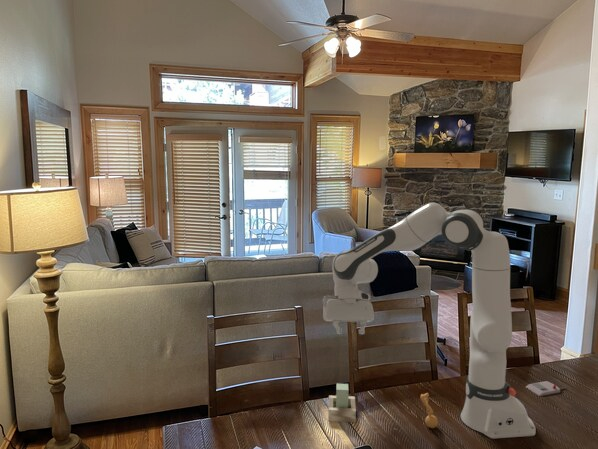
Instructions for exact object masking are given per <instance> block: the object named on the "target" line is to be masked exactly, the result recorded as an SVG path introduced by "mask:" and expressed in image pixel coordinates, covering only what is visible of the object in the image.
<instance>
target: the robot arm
mask: <svg viewBox="0 0 598 449" xmlns="http://www.w3.org/2000/svg"><path fill="white" fill-rule="evenodd" d="M485 225H486V224H485V220H484V217H483V215H482V214H481V213H480V212H479V211H478V210H475V209H472V208H461V209H452V210H449V211H447V209H445V207H444V206H442V205H441V204H439V203H437V202H429V203H426V204H424V205H422V206H421V207H418V208H417V209H415V210H414V211H413V212H411V213H409V214H408V215H407V216H406V217H404V218H403V219H401V220H400V221H398V222H397V223H395V224H393V225H391V226H389V227H387V228H384V229H383V230H380V231H379V232H377V233H375V234H374V235H372V236H370V237H369V238H367V239H365V240H364V241H363V242H361V243H359V244H357V245H356V246H355V247H353V248H350V249H345V250H343V251H341V252H339V253H338V254H337V255H336V256H334V257H333V259H332V264H331V265H332V266H331V267H332V279H333V282H334V286H333V287H334V288H333V291H334V295H329V294H328V295H327V294H326V295H325V296H323V298H322V305H323V309H322V310H323V311H322V312H323V313H322V318H323V320H324V321H325V322H332V325H333V327H334V328H335V330H336V334H337V335H341V334H343V328H342V327H340V325H339V324H340V322H343V323H345V322H346V323H359V324H360V328H359V329H358V334H359V335H365V334H366V330H365V328H366V326H367V323H371V322H373V321H374V319H375V311H374V308H373V304H372V302H371V297H372V296H371V295H370V294H369V293H367V292H364V291H362V290H361V289H359V286H358V285H359V284H370V283H372V282H374V281H375V280H376V278H377V277H378V273H379V266H378V263H377V262H376V261H375V259H373V258H374V257H376V256H378V255H379V254H382V253H385V252H395V251H396V252H397V251H398V252H413V251H415V250H417V249H419V248H421V247H422V246H424V245H425V244H427V243H429V242H430V241H431V240H432V239H434V238H436V237H437V236H440V235H441V236H442V238H443V239H444V241H445V242H446V243H447V244H448V245H451V246H453V247H456V248H459V249H463V250H466V251H468V252H469V251H471V257H472V258H471V262H472V263H471V265H472V266H471V292H472V294H471V295H472V296H471V297H472V298H471V299H472V309H471V313H470V321H469V323H470V324H469V360H468V361H469V362H468V375H467V377H466V383H465V394H466V395H465V400H464V405H463V408H462V411H461V413H460V419H461V421H462V422H463V423H464V424H465V425H466V426H467V427H469V428H470V429H472V430H474V431H477V432H479V433H481V434H484V435H485V436H487V437H488V438H490V439H506V438H518V437H521V438H522V437H534V436H535V435H536V433H537V432H536V429H537V428H536V426H535V424H534V422H533V420H532V419H531V418H530V416H528V412H527V409H526V408H525V405H524V404H523V403H522V402H521V400H520V399H518V398H516V396H517V391H516V390H515V389H514V388H513V387H511V385H510V384H509V383H508V382H507V381H506V373H507V349H508V348H509V347H510V346H511V344H512V340H513V323H512V322H513V320H512V318H513V317H512V303H511V302H512V301H511V257H510V248H509V247H510V246H509V241H508V239H507V237H506V236H505V235H504V234H502V233H500V232H498V231H489V230H487V229H486V228H485Z"/></svg>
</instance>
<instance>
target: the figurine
mask: <svg viewBox="0 0 598 449" xmlns="http://www.w3.org/2000/svg"><path fill="white" fill-rule="evenodd" d="M429 396H430V394H429V392H426V393H421V394H420V397H419V398H420V401H421V402H422V403H423V405H424V406H425V407H426V413H427V416H426V417H425V419H424V420H425V421H424V422H425V425H426V426H427V427H428V428H429V429H435V428H437V427H438V425H439V420H438V418H437V416H435V415H434V412H433V408H432V407H431V405H430V404H429V400H430V399H429Z"/></svg>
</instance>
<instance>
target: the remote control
mask: <svg viewBox="0 0 598 449" xmlns="http://www.w3.org/2000/svg"><path fill="white" fill-rule="evenodd" d="M525 388H526V389H527V388H528V389H527V390H529V391H530V390H531V391H530V392H532V393H533V394H535V395H537V396H539V397H542V396H548V395H552V394H553V395H554V394H558V393H561V390H564V389H566V388H567V387H566V386H564V387H563V386H562V387H558V386H557V385H556V384H555V383H552V382H550V381H547V380H546V381H540V382H534V383H529V384H527V385H526V386H525Z"/></svg>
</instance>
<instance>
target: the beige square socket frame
mask: <svg viewBox="0 0 598 449" xmlns="http://www.w3.org/2000/svg"><path fill="white" fill-rule="evenodd" d="M356 409H357V408H356V397H355V396H350V395H348V408H336V395H332V394H331V395H328V410H327V412H328V419H327V420H328V422H337V423H338V422H339V423H340V422H341V423H342V422H343V423H356V422H357V420H356V417H357V414H356V413H357V410H356Z"/></svg>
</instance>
